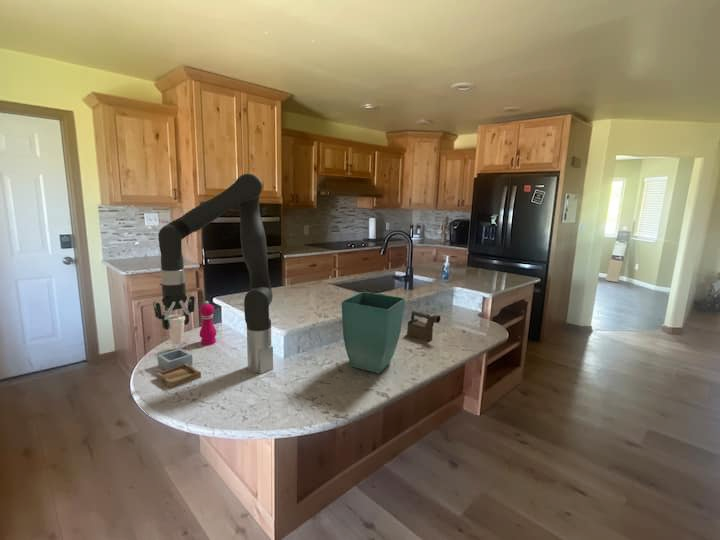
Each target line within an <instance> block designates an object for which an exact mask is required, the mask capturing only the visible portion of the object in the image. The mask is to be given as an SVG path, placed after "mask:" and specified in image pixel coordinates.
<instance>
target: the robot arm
mask: <svg viewBox="0 0 720 540" xmlns="http://www.w3.org/2000/svg"><path fill="white" fill-rule="evenodd" d="M262 192H263V184H262V180H261V179H260V178H259V177H258V176H257V175H254V174H253V173H245V174H242V175H240V176H238V178H237V179H236V180H235V181H234V183H232V184H231V185H230V186H229V187H228V188H226V189H225V190H224V191H222V192H221V193H219V194H217V195H216V196H214V197H211V198H210V199H208V200H206V201H204V202H202V203H200V204H199V205H197V206H195V207H194V208H192V209H191V210H188V211H187V212H185V213H184V214H183V215H182V216H181V217H179V218H177V219H174V220H172V221H171V222H169V223H167V224H165V225H163V226H162V227H161V228H160V230H159V232H158V235H157V236H158V237H157V239H158V246H159V251H160V268H161V271H160V272H161V273H160V276H161V277H160V282H161V295H162V298H161V300H160V301H153V302H152V303H153V304H152V305H153V311H154V315H155V318H156V319H158V320H161V327H162V328H163V329H165V330H166V331H168V330H169V324H168V317H169V316H170V315H172V314H171V313H172V312H173V311H175V310H176V309H177V310H181V312H182V313H183V314H182V315H184V316H185V320H184V326H189V323H190V314H191V313H193V312H195V303H196V302H195V300H196V298H195V296H193V295H191V294H189V295H186V294H187V292H186V290H187V289H186V274H185V269H184V268H185V267H184V266H185V265H184V257H183V253H182V250H183V249H182V248H183V247H182V240H184V239H185V238H186V237H189V236H190V235H191V234H192V233H195V232H198V231H199V230H201V229H203V228H204V227H207V225H209V224H211V223H213V222H214V221H215V220H217V219H218V218H219V217H221V216H223V215H224V214H225V213H226V212H228V211H230V210H232V209H233V208H236V207H238V210H239V232H240V235H239V237H240V246H241V247H240V248H241V253H242V257H243V261H244V263H245V265H246V268H247V270H248V275H249V281H250V282H249V284H250V287H249V288H250V289H249V291H248V292H247V293H246V294H245V295H244V298H243V299H244V300H243V301H244V302H243V306H244V307H243V309H244V322H245V324H246V348H247V349H246V350H247V351H246V353H247V370H248V371H249V372H250V373H253V374H261V375H262V374H264V373H266V372H269V371H271V370H273V369H274V347H273V346H272V320H271V319H270V308H269V307H270V305H271V303H272V301H273V291H272V285H271V280H270V276H269V265H268V264H269V263H268V262H269V261H268V259H269V258H268V248H267V247H268V245H267V237H266V231H265V227H264V223H263V219H262V216H261V210H260V195H261V193H262ZM186 302H187V306H186ZM162 306H164V307H163V310H162Z"/></svg>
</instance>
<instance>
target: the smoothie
mask: <svg viewBox="0 0 720 540" xmlns="http://www.w3.org/2000/svg"><path fill="white" fill-rule="evenodd" d="M174 313H175V314H169V317H168V324H169V329H168V332H169V337H170V342H171V345H180V344H182V343H183V341H184V331H185V324H184V320H185V316H184V315H183V314H178V309H176V310H174Z"/></svg>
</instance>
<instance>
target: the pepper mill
mask: <svg viewBox="0 0 720 540" xmlns="http://www.w3.org/2000/svg"><path fill="white" fill-rule="evenodd" d="M199 312H200V314H201V319H202V325H201V328H200V330H199V337H200V338H201V340H200V344H201V345H203V346H211V345H214V344H215V343H217V339H216V336H217V334H218V333H217V330H216V327H215V326H214V322H213V318H214V314H213V313H215V307H214V305H212V304H211V303H210V301H208V300H205V301H204V304H202V305H201V306H200V308H199Z"/></svg>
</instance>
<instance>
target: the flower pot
mask: <svg viewBox="0 0 720 540" xmlns="http://www.w3.org/2000/svg"><path fill="white" fill-rule="evenodd" d="M405 302H406V298H405V297H400V296H394V295H387V294H380V293H377V292H376V293H374V292H368V291H361V292H358V293H357V294H355V295H352V296H350V297H347V298H346V299H344V300H342V301H341V320H342V336H343V342H344V347H345V351H346V354H347V358H348V360H349V362H350V365H351V367H353V368H356V369H360V370H364V371H367V372H370V373H371V372H372V373H375V374H380V373H381V372H382V371H383V370H384V369H386V367H387V366H388V365H389V364H390V363H391V361H392V358H393V356H394V353H395V352H396V349H397V346H398V342H399V339H400V336H401V335H400V333H401V330H402V324H403V323H402V322H403V316H404V307H405Z"/></svg>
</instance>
